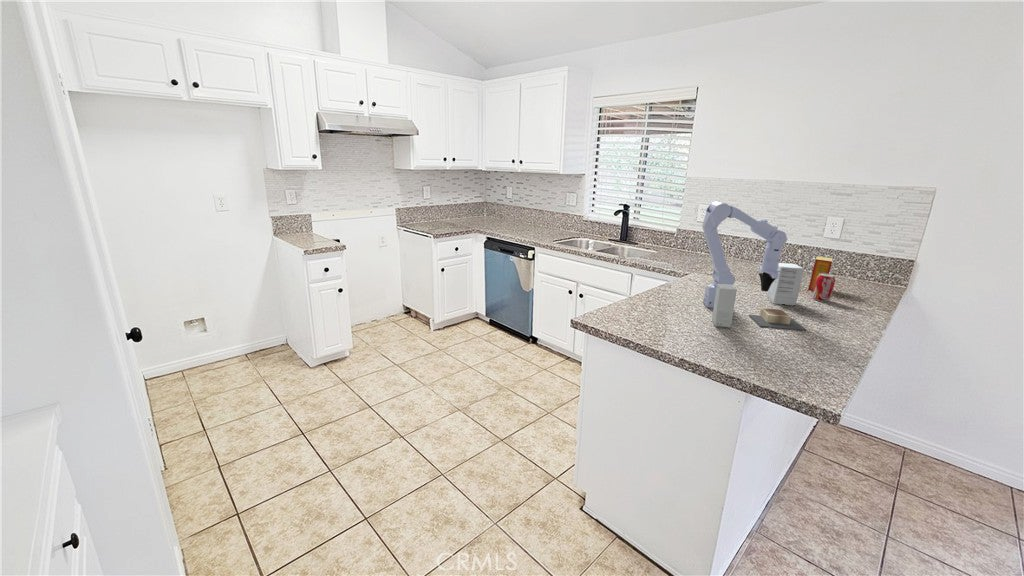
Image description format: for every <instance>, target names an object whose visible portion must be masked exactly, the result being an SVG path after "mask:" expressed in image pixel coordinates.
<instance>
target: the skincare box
mask: <svg viewBox="0 0 1024 576" xmlns="http://www.w3.org/2000/svg"><path fill="white" fill-rule="evenodd" d="M737 291H738V290H737V288H736V287H735V286H734V284H733V285H731V284H717V289H716V296H715V302H714V308H712V309H713V310H712V317H711V320H712V323H713V325H714V326H715V327H721V328H729V329H731V327H732V323H733V315H734V310H735V309H734V308H735V303H736V295H737Z"/></svg>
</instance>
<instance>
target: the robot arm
mask: <svg viewBox="0 0 1024 576" xmlns="http://www.w3.org/2000/svg"><path fill="white" fill-rule="evenodd" d="M727 218H729V219H736V220H737V221H740V222H741V223H743V224H745V225H748V226H749V227H750V231H751V232H752V233H754V234H755V235H758V237H760V238H763V239H764V240H766V243H765V244H766V245H765V250H764V254H763V258H762V263H761V264H762V265H759V271H761V272H758V275H759V278H760V288H761V289H760V290H761V292H768V290H769V288H770V286H771V284H772V283H773V282H774V280H775V279H778V276H779V274H778V272H780V270H777V269H778V265H779V263H780V259H781V255H782V251H783V246H784V244H786V243H787V242H788V237H787V234H786V232H785V231H782V230H780V229H778V226H776V225H772V224H770V223H769V222H768V219H761V218H759V219H755V218H754V217H752V216H750V215H749V214H748V213H746V212H745V211H742V210H741V209H739V208H737V207H735V206H733V205H730V204H729V203H725V202H721V201H720V200H715V201H713V202H710V204H709V205H708V206H707V208H706V209H705V215H704V218H703V222H702V225H701V226H702V230H703V233H704V237H705V241H706V245H707V247H708V251H709V255H710V258H711V261H712V278H713V280H714V281H713V282H712V284H706V286H705V291H704V294H703V299H702V302H703V304H704V305H705V306H706V308H712V309H714V302H715V296H716V289H717V284H731V285H734V284H735V281H736V278H735V276H734V274H732V272H731V269H730V267H729V266H728V264H727V261H726V257H725V253H724V249H723V245H722V242H721V238H720V235H719V232H718V227H719V226H720V224H721V223H722V222H723V221H725V220H726V219H727Z"/></svg>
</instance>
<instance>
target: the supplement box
mask: <svg viewBox="0 0 1024 576" xmlns="http://www.w3.org/2000/svg"><path fill="white" fill-rule="evenodd" d="M777 270H780V272H778V274H779V276H778V279H775V280H774V282H773V283H772V284H771V286H770V288H769V290H768V291H766V297H765V298H766V299H767V298H768V299H769V300H768V299H767V300H768V301H769V302H771V303H772V304H773V303H774V304H773V305H782V304H785V305H784V306H793V305H796V306H797V301H798V297H799V293H800V292H799V291H800V288H801V285H802V281H803V276H804V271H805V268H804V267H802V266H800V265H798V264H796V263H786V262H779V265H778V269H777Z"/></svg>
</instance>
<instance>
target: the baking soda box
mask: <svg viewBox="0 0 1024 576" xmlns="http://www.w3.org/2000/svg"><path fill="white" fill-rule="evenodd" d="M832 263H833V258H832V257H828V256H827V257H826V256H818V255H816V258H815V261H814V264H813V268H812V272H811V276H810V280H809V284H808V289H807V290H808V291H810V290H812V292H813V289H814V285H815V282H816V278H817V276H818V275H819V274H820V273H826V274H830V271H831V267H832Z"/></svg>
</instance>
